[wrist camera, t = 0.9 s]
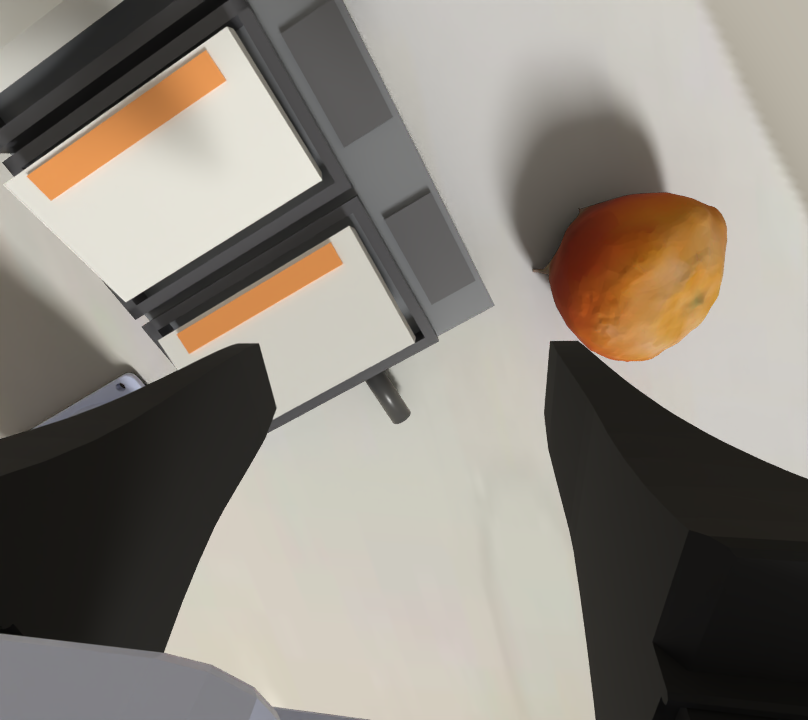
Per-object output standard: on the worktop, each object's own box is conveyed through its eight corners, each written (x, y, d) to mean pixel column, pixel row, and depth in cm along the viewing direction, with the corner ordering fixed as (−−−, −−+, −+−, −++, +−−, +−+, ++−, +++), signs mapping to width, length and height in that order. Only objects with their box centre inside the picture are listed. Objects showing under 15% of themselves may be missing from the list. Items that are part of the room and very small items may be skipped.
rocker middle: (136, 288, 21) (124, 304, 20) (23, 176, 18) (0, 185, 17) (321, 172, 20) (322, 181, 18) (233, 28, 16) (226, 26, 15)
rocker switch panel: (298, 458, 30) (286, 503, 26) (-84, -21, 19) (-200, -67, 15) (511, 347, 27) (533, 378, 23) (205, -260, 17) (154, -384, 13)
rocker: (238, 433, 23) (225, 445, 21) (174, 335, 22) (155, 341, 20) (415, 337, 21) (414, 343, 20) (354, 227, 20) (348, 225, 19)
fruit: (556, 143, 22) (727, 184, 16) (632, 195, 27) (781, 240, 21) (481, 298, 24) (605, 378, 19) (562, 319, 30) (678, 387, 24)
